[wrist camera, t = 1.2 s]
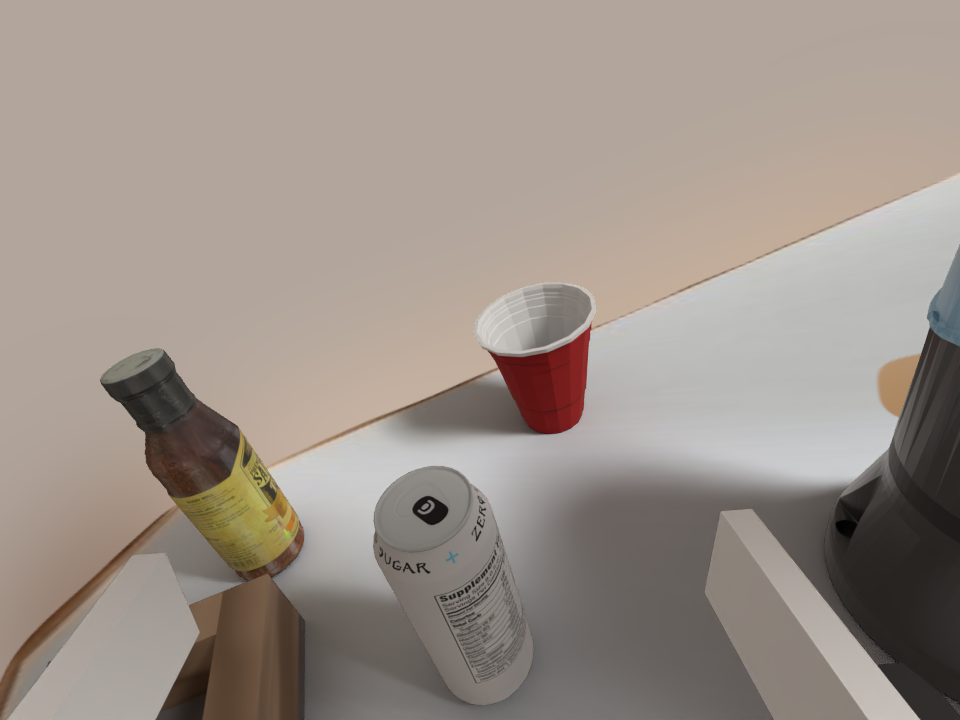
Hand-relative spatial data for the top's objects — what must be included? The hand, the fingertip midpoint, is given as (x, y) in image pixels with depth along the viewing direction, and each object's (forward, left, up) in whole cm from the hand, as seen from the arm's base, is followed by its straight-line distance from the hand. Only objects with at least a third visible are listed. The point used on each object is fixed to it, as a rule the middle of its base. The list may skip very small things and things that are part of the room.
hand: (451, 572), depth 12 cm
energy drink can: (+1, -9, -22) cm, 24 cm away
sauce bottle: (+16, -25, -22) cm, 37 cm away
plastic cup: (-12, -28, -22) cm, 38 cm away
